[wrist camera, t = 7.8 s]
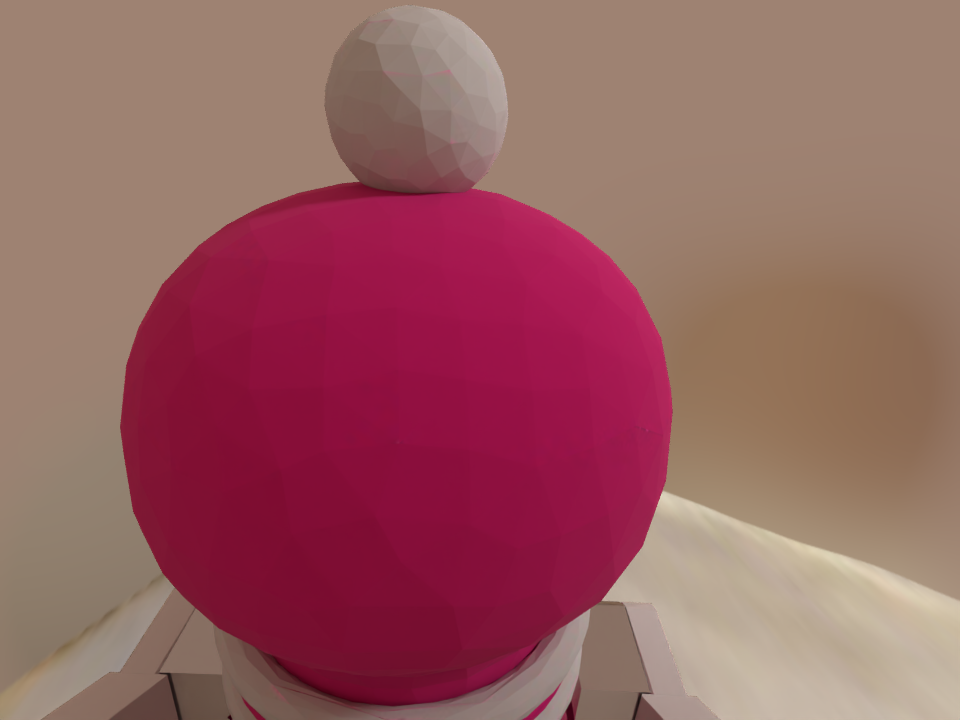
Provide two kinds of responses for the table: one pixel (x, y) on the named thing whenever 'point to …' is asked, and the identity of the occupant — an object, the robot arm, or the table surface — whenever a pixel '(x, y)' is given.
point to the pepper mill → (398, 415)
